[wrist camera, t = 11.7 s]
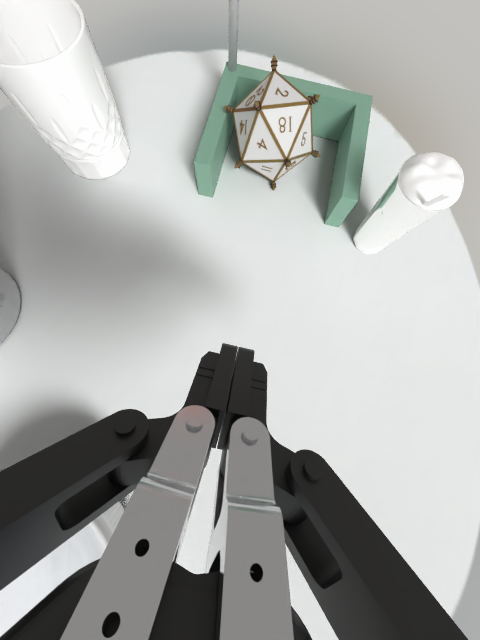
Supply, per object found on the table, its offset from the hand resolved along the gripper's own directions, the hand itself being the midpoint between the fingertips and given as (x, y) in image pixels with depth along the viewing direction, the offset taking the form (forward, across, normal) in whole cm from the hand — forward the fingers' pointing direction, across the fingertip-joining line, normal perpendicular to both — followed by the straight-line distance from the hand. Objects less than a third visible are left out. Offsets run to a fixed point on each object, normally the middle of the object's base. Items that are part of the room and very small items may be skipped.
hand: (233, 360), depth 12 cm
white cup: (+21, +19, -5) cm, 29 cm away
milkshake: (+18, -11, -3) cm, 22 cm away
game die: (+23, +1, -8) cm, 24 cm away
